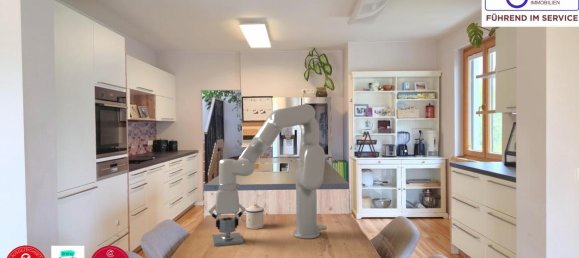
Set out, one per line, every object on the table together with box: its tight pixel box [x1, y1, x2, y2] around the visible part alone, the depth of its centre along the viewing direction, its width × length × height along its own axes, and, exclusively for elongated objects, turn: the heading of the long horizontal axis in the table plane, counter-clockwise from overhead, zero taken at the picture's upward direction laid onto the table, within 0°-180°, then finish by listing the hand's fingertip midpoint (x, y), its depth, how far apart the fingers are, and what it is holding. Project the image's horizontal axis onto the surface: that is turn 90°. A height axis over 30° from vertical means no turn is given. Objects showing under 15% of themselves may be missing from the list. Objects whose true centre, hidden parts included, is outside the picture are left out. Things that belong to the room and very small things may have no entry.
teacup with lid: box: [239, 203, 265, 230], centre depth 165 cm, size 12×9×12 cm
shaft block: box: [212, 232, 244, 247], centre depth 144 cm, size 12×12×8 cm
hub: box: [218, 216, 236, 234], centre depth 144 cm, size 7×7×5 cm
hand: (227, 227), depth 144 cm, fingers closed on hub, 6 cm apart
